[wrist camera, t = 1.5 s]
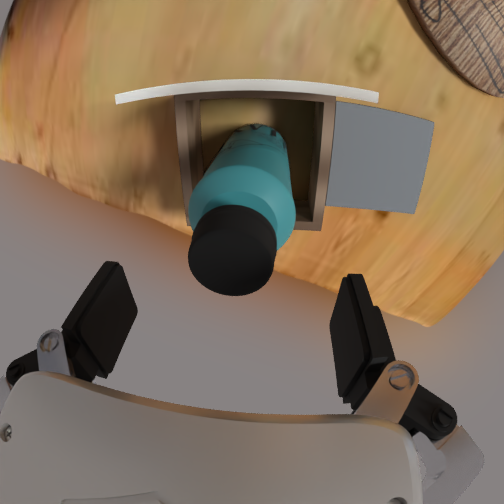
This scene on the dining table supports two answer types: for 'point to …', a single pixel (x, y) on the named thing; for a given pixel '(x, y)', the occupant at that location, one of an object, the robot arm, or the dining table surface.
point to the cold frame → (193, 92)
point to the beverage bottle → (241, 212)
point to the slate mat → (377, 158)
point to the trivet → (467, 38)
